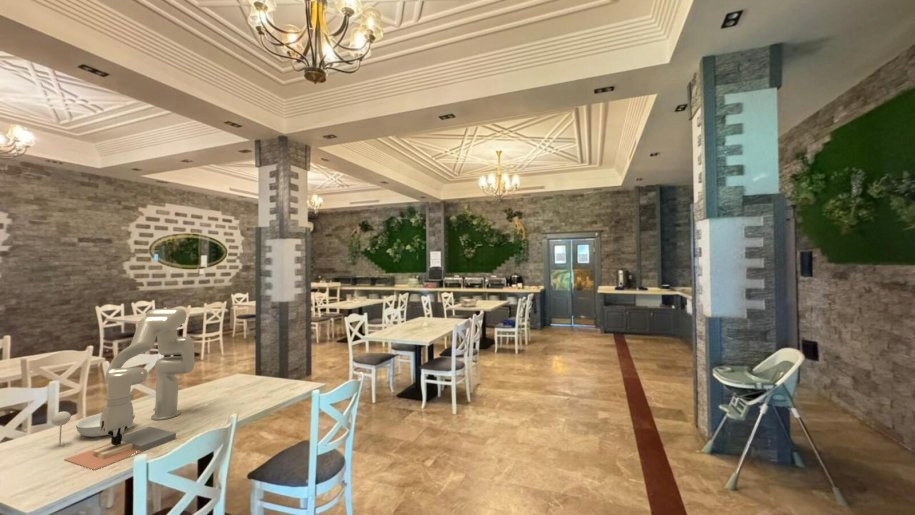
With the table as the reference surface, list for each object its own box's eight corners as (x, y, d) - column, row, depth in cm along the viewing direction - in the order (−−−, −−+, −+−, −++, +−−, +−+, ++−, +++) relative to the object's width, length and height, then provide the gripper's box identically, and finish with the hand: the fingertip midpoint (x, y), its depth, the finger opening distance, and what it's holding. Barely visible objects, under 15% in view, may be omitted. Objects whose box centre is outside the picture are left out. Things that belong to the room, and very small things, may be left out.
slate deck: (113, 444, 165) (114, 438, 165) (149, 431, 178) (149, 426, 178) (140, 451, 158) (141, 445, 158) (175, 438, 171) (176, 433, 171)
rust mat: (64, 460, 151) (64, 459, 151) (112, 443, 165) (112, 442, 165) (94, 470, 142) (94, 469, 142) (142, 452, 157) (142, 451, 157)
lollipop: (72, 444, 165) (74, 410, 166) (54, 450, 159) (56, 415, 160) (64, 442, 167) (66, 408, 168) (46, 447, 161) (48, 413, 162)
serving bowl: (66, 445, 163) (66, 430, 164) (86, 428, 182) (87, 414, 182) (126, 436, 173) (127, 421, 173) (140, 421, 192) (140, 407, 192)
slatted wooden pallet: (92, 455, 153) (92, 450, 154) (121, 445, 163) (121, 440, 163) (103, 459, 151) (103, 454, 151) (132, 448, 160) (132, 443, 160)
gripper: (133, 395, 167) (131, 436, 166) (91, 405, 153) (89, 450, 152) (143, 397, 164) (141, 438, 163) (101, 408, 151) (99, 453, 150)
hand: (116, 444), depth 158 cm, fingers closed
